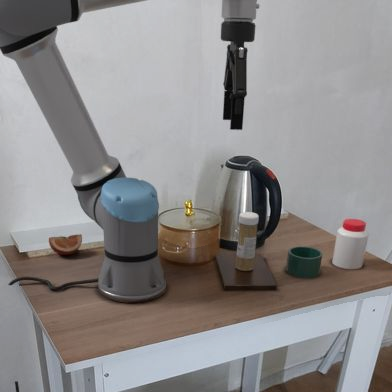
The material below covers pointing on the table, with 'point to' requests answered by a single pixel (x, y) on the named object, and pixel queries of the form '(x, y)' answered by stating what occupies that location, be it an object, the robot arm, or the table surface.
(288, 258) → the cup
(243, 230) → the sprinkles bottle
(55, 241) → the fruit slice
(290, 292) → the table surface
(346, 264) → the pill bottle
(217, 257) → the board
